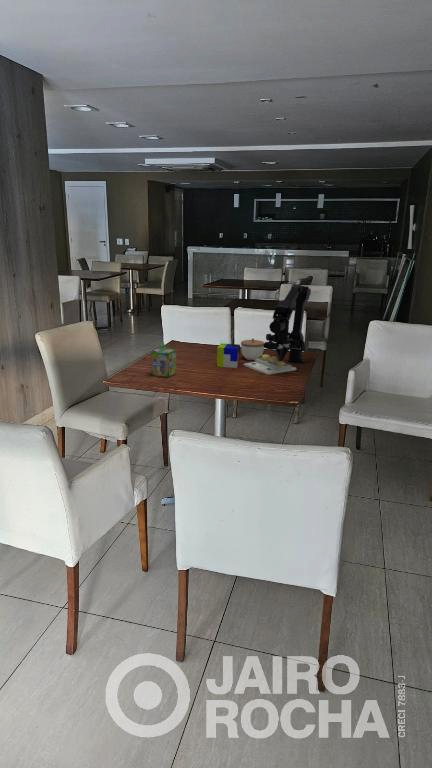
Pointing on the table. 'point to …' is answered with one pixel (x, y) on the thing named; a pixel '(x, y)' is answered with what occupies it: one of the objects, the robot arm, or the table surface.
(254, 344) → the lidded bowl
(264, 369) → the board
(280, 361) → the button
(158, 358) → the green patterned box
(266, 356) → the button
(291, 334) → the robot arm
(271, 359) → the button mid
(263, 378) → the table surface
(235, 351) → the puzzle toy
